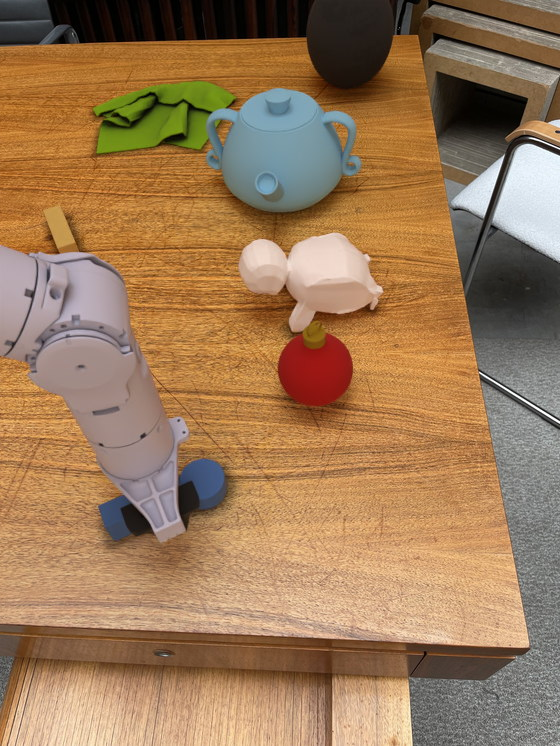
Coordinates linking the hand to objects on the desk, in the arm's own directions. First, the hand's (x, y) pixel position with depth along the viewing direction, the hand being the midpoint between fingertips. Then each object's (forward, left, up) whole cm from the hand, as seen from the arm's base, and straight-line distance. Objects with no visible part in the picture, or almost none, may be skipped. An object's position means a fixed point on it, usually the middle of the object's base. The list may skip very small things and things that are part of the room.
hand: (161, 499), depth 55 cm
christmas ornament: (+18, +5, -2) cm, 18 cm away
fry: (0, +40, -1) cm, 40 cm away
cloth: (+20, +60, -2) cm, 63 cm away
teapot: (+28, +34, -2) cm, 44 cm away
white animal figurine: (+22, +16, -2) cm, 28 cm away
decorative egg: (+48, +54, -2) cm, 72 cm away
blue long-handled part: (0, 0, -1) cm, 1 cm away
